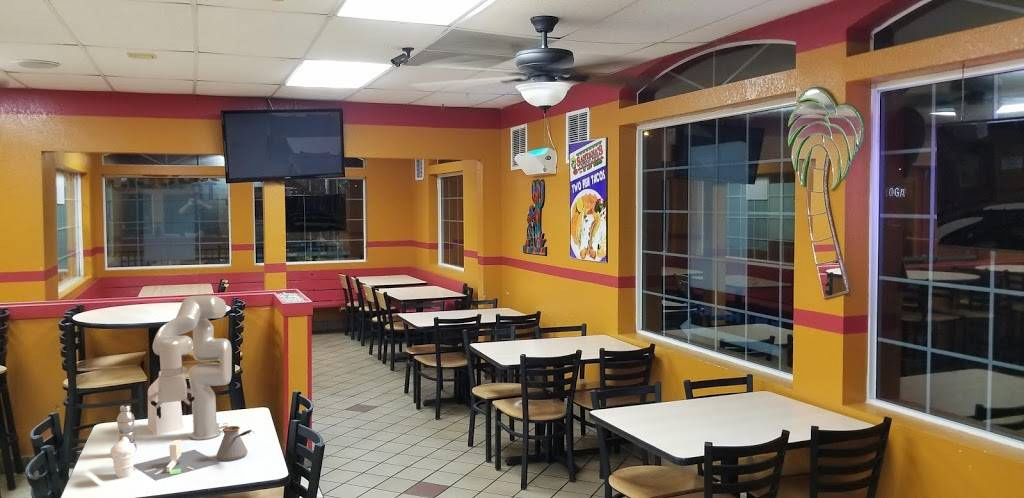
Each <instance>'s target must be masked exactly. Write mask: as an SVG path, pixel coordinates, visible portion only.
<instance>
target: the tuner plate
mask: <svg viewBox="0 0 1024 498" xmlns="http://www.w3.org/2000/svg"><path fill="white" fill-rule="evenodd" d="M170 462H171V461H170V455H167V456H162V457H159V458H156V459H151V460H148V461H143V462H139V463H134V465H133V468H136V469H137V470H138V471H140V472H141V473H143V474H144V475H146V476H147V477H150V478H151V479H152V480H154V481H159V480H163V479H167V478H171V477H173V476H178V475H182V474H185V473H190V472H194V471H197V470H200V469H204V468H207V467H208V468H209V467H211V466H215V465H219V464H221V463H220V462H219V461H216V460H215V459H213V458H211V457H209V456H207V455H206V454H204V453H202V452H200V451H198V450H196V449H192V450H187V451H183V452H181V456H180V457H179V464H176V465H175V466H174V467H173V468H172V470H171V471H170V472H167V468H166V467H167V466H168V465H169V463H170Z"/></svg>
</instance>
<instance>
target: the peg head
mask: <svg viewBox="0 0 1024 498" xmlns="http://www.w3.org/2000/svg"><path fill="white" fill-rule="evenodd" d="M168 448H169V456H170V461H171V462H170V463H169V465H168V466H167V467H166V468H167V472H170V471H171V470H172V468H173V467H174V466H175V465H176V464H179V457H180V456H181V453H182V442H181V439H176V440H173V441H172V442H170V444H169V447H168Z"/></svg>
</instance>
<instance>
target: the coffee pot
mask: <svg viewBox="0 0 1024 498" xmlns="http://www.w3.org/2000/svg"><path fill="white" fill-rule="evenodd" d="M240 429H241V427H240V426H238V425H231V426H228V427H226V428H222V433H224V435H223V437H222V439H221V442H220V446H219V448H218V450H217V452H216V457H217V459H218V460H219V461H221V462H232V461H237V460H241V459H244V458H245V457H246V456H247V455H248V449H247V447H246V445H245V443H244V441H243V439H242V436H243V437H244V436H246V435H250V433H251V432H253V433H255V431H254V430H253V429H252V430H251V429H249V430H246V431H243V432H242V433H239V430H240Z"/></svg>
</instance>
